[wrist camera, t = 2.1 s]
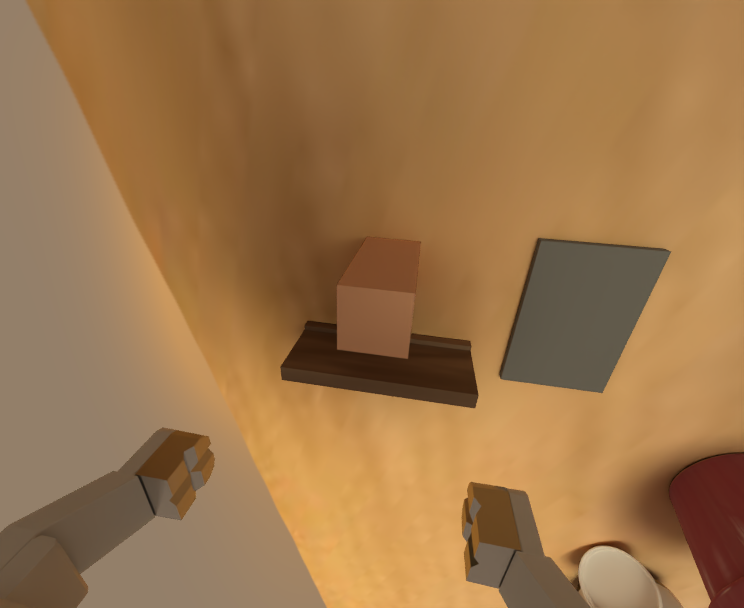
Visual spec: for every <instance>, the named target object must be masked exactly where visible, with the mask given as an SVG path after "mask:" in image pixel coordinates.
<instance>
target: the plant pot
mask: <svg viewBox="0 0 744 608" xmlns="http://www.w3.org/2000/svg"><path fill="white" fill-rule="evenodd" d="M669 497H670V500H671V502H672V505H673V507H674V509H675V512H676V514H677V517H678V519H679V522H680V524H681V527H682V530H683V532H684V535H685V537H686V540H687V542H688V545H689V547H690V550H691V553H692V555H693V558H694V560H695V563H696V565H697V568H698V570H699V573H700V575H701V578H702V580H703V583H704V585H705V588H706V590H707V593H708V595H709V597H710V600H711V603H710V605H709V607H708V608H744V453H738V454H727V455H721V456H716V457H711V458H708V459H705V460H702V461H700V462H697V463H695V464H693V465H691V466H689V467H688V468H686V469H685V470H683V471H682V472H680V473H679V474H678V475H677V476H676V477H675V478H674V480H673V481H672V483H671V485H670V489H669Z"/></svg>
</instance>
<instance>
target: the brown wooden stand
mask: <svg viewBox="0 0 744 608" xmlns="http://www.w3.org/2000/svg"><path fill="white" fill-rule="evenodd" d="M470 350H471V342H470V341H465V340H457V339H449V338H441V337H433V336H425V335H416V334H411V336H410V345H409V353H408V359H405V358H398V357H390V356H383V355H375V354H368V353H360V352H353V351H345V350H337V325H336V324H328V323H320V322H312V321H307V323H306V324H305V330H304V331H303V333H302V335H301V336H300V338H299V339H298V341H297V342H296V344H295V345H294V347H293V348H292V350H291V351H290V353H289V355H288V356H287V358H286V359H285V361H284V362H283V364H282V365H281V377H282V380H287V381H293V382H300V383H307V384H314V385H321V386H327V387H334V388H341V389H348V390H354V391H361V392H368V393H375V394H382V395H388V396H395V397H402V398H409V399H415V400H422V401H429V402H436V403H442V404H449V405H456V406H463V407H470V408H475V407H476V403H477V399H478V390H477V384H476V379H475V373H474V368H473V362H472V357H471V351H470Z"/></svg>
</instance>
